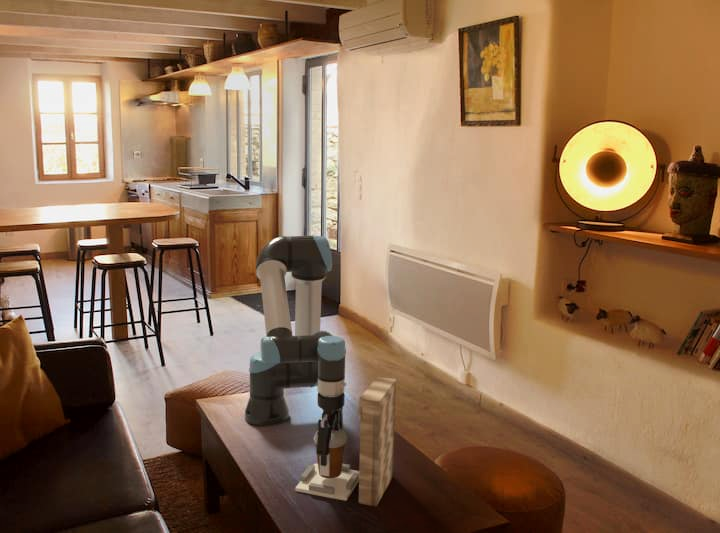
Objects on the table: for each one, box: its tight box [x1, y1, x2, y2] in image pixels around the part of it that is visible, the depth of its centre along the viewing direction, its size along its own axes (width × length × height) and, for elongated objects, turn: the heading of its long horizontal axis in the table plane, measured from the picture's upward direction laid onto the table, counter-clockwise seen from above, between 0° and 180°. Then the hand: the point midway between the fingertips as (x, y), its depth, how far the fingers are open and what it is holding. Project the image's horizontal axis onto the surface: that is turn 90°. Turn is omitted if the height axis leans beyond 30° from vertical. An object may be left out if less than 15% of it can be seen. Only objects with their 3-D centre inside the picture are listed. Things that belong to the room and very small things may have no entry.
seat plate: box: [294, 462, 359, 501], centre depth 195 cm, size 15×15×2 cm
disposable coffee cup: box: [313, 429, 348, 478], centre depth 194 cm, size 10×10×12 cm
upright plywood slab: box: [358, 376, 397, 507], centre depth 190 cm, size 17×6×30 cm, turn 162°
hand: (330, 467), depth 195 cm, fingers closed on disposable coffee cup, 8 cm apart
